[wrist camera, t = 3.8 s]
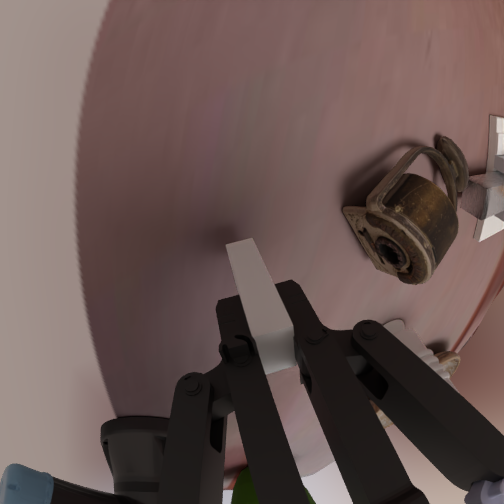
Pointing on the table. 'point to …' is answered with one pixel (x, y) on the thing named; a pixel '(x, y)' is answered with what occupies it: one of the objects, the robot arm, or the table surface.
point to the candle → (417, 347)
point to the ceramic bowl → (450, 365)
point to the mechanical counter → (412, 215)
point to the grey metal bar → (484, 195)
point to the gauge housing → (499, 159)
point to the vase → (250, 490)
